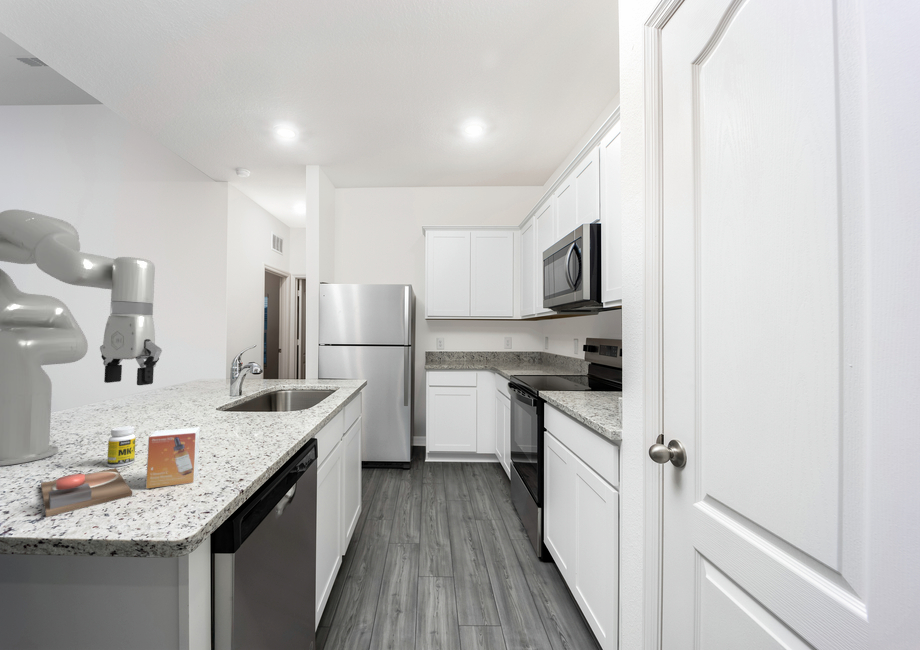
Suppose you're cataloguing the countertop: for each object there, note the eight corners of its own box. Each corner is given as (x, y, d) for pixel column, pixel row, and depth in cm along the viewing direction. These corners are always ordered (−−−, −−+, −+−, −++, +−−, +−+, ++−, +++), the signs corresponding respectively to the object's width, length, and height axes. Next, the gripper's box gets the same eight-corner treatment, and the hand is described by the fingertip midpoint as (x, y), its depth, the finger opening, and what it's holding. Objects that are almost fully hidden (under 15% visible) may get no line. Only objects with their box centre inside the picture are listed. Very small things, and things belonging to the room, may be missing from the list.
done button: (55, 485, 67) (55, 477, 67) (83, 479, 70) (83, 472, 70) (56, 491, 65) (56, 483, 65) (85, 485, 67) (86, 477, 67)
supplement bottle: (117, 468, 84) (119, 431, 85) (101, 466, 85) (103, 429, 86) (139, 461, 89) (141, 426, 89) (124, 459, 90) (125, 424, 90)
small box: (145, 490, 74) (147, 436, 74) (152, 479, 79) (154, 429, 79) (194, 483, 77) (196, 432, 78) (198, 473, 82) (200, 426, 83)
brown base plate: (41, 487, 74) (41, 474, 74) (115, 471, 82) (116, 460, 83) (46, 516, 62) (46, 502, 63) (132, 495, 71) (132, 483, 71)
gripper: (85, 308, 86) (81, 383, 86) (144, 310, 82) (140, 388, 82) (121, 311, 93) (118, 379, 93) (177, 312, 89) (173, 383, 89)
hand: (128, 383), depth 87 cm, fingers open, 9 cm apart
